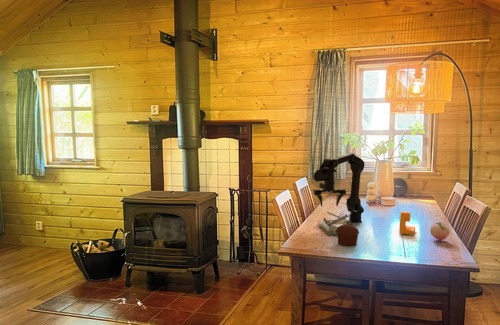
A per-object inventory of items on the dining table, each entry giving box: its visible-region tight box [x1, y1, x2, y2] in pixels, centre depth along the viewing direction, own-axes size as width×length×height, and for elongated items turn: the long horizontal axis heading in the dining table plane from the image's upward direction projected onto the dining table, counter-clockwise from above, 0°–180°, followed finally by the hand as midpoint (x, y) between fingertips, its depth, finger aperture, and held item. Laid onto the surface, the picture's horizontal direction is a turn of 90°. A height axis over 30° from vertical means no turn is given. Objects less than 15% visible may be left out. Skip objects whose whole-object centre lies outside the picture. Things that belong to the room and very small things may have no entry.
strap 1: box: [327, 211, 349, 221], centre depth 222 cm, size 13×3×1 cm, turn 94°
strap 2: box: [327, 214, 349, 226], centre depth 213 cm, size 13×3×1 cm, turn 93°
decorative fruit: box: [429, 221, 451, 242], centre depth 194 cm, size 9×8×10 cm
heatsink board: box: [318, 217, 353, 237], centre depth 218 cm, size 16×23×6 cm
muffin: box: [336, 224, 360, 248], centre depth 191 cm, size 12×11×10 cm
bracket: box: [398, 211, 416, 236], centre depth 210 cm, size 11×7×12 cm, turn 151°
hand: (329, 206), depth 222 cm, fingers open, 9 cm apart
